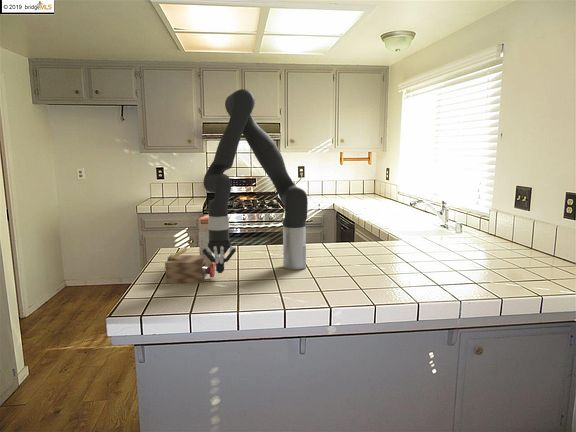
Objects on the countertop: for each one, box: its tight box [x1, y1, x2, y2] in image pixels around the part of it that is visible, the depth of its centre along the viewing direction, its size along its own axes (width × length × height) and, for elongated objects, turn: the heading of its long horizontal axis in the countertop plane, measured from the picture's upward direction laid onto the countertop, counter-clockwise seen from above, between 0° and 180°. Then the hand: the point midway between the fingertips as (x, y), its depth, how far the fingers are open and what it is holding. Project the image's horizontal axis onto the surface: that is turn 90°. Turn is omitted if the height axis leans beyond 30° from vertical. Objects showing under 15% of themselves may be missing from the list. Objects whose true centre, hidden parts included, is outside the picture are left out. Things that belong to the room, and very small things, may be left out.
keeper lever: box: [167, 247, 188, 260], centre depth 153 cm, size 7×4×1 cm, turn 90°
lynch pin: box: [203, 263, 216, 278], centre depth 154 cm, size 15×5×5 cm, turn 90°
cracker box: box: [197, 214, 220, 267], centre depth 173 cm, size 14×6×21 cm, turn 168°
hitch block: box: [164, 254, 208, 285], centre depth 154 cm, size 13×10×8 cm
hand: (220, 272), depth 154 cm, fingers closed
